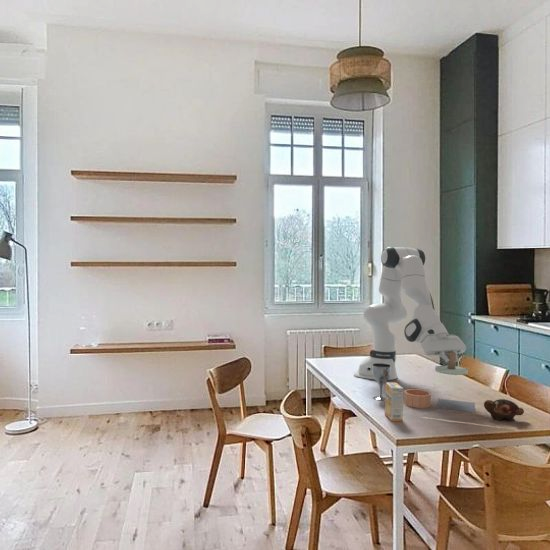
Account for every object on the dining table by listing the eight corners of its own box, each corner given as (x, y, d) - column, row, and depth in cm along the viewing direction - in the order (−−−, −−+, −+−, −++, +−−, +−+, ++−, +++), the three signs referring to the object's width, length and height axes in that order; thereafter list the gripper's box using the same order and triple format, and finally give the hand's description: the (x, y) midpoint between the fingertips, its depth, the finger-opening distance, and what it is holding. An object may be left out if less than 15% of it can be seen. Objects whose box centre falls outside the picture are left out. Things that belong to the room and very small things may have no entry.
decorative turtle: (478, 416, 197) (479, 396, 197) (514, 416, 198) (515, 396, 198) (490, 424, 188) (491, 403, 187) (528, 424, 189) (529, 403, 188)
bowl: (402, 407, 207) (402, 394, 207) (405, 400, 217) (405, 387, 217) (429, 410, 203) (430, 397, 203) (431, 403, 214) (431, 390, 213)
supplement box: (384, 414, 197) (385, 382, 196) (395, 414, 197) (396, 382, 197) (390, 421, 188) (391, 387, 188) (403, 421, 189) (403, 387, 188)
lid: (434, 373, 204) (435, 354, 204) (435, 367, 217) (436, 349, 217) (468, 376, 200) (469, 356, 200) (467, 369, 213) (467, 351, 212)
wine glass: (379, 401, 214) (380, 367, 214) (367, 397, 222) (368, 363, 221) (393, 399, 218) (394, 366, 218) (381, 395, 225) (382, 362, 225)
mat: (436, 409, 205) (436, 407, 205) (438, 399, 219) (438, 398, 219) (475, 413, 200) (475, 412, 200) (474, 404, 214) (474, 402, 214)
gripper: (452, 338, 223) (467, 364, 214) (415, 340, 215) (429, 367, 206) (460, 330, 218) (475, 355, 210) (422, 331, 211) (437, 358, 202)
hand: (452, 361), depth 208 cm, fingers closed on lid, 3 cm apart
